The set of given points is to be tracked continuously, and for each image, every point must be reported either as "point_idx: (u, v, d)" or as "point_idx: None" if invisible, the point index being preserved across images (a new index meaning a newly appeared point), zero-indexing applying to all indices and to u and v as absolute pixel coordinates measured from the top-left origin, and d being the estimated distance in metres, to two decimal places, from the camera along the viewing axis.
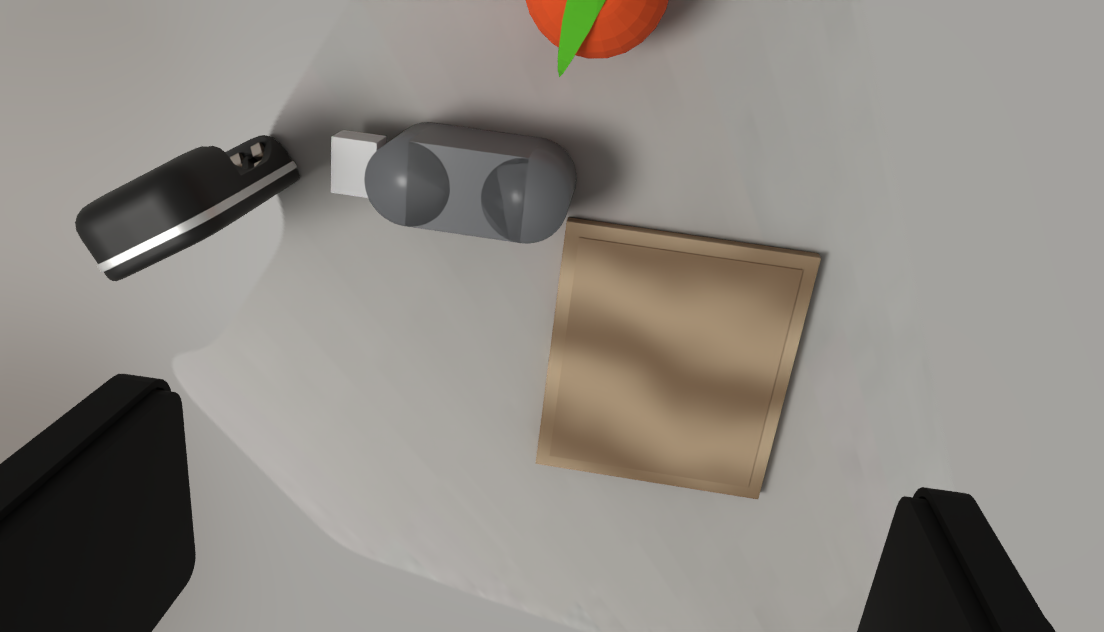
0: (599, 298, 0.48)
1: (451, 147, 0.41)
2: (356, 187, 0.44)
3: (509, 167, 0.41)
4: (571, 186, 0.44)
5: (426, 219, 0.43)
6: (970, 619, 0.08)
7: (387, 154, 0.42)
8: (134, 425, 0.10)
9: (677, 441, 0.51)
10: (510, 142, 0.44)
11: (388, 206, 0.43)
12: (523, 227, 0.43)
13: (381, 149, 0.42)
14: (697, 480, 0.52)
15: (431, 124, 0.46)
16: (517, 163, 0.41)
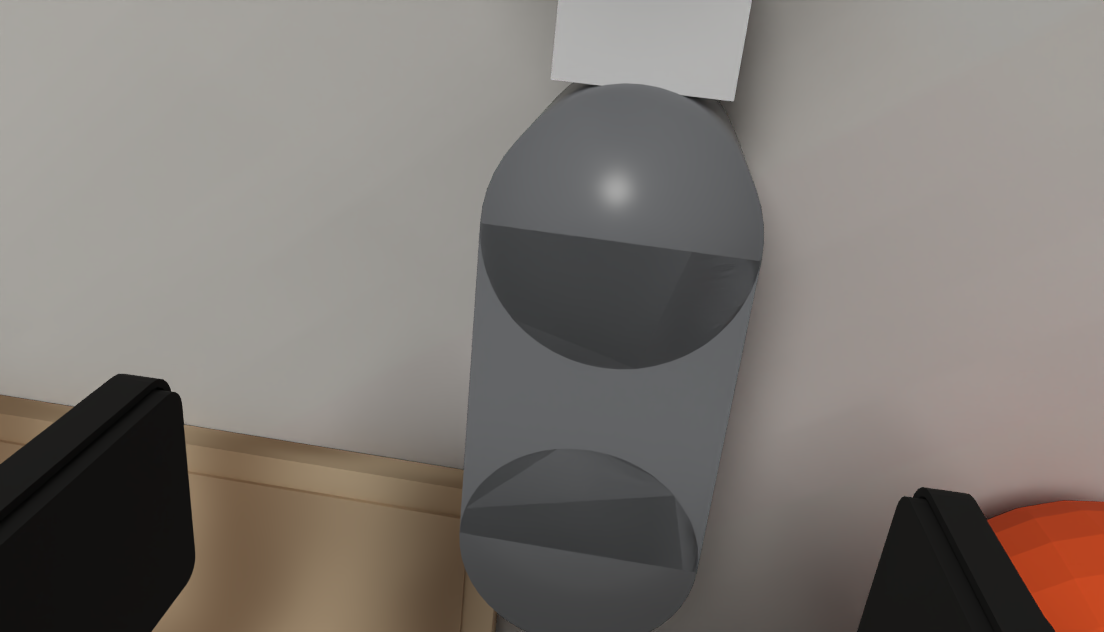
0: (332, 550, 0.21)
1: (734, 382, 0.14)
2: (585, 15, 0.13)
3: (671, 526, 0.15)
4: None
5: (507, 292, 0.14)
6: (970, 619, 0.08)
7: (720, 187, 0.13)
8: (134, 425, 0.10)
9: None
10: None
11: (542, 174, 0.13)
12: (503, 544, 0.16)
13: (738, 168, 0.12)
14: None
15: None
16: (681, 544, 0.15)
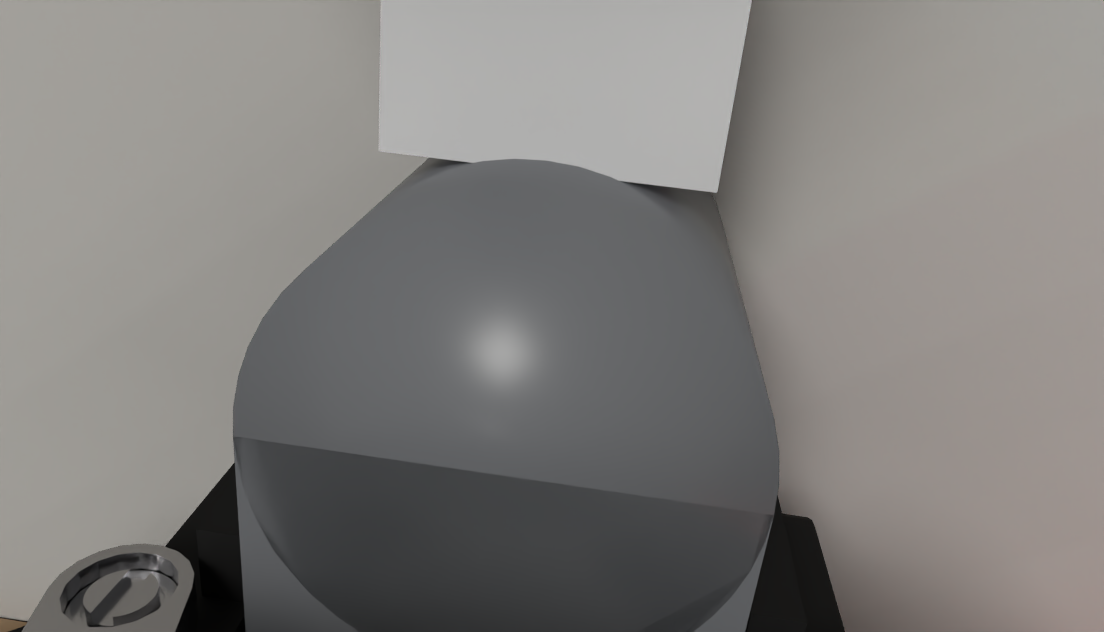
0: None
1: None
2: (434, 34, 0.07)
3: None
4: None
5: (298, 552, 0.07)
6: None
7: (692, 382, 0.06)
8: None
9: None
10: None
11: (342, 352, 0.06)
12: None
13: (728, 348, 0.06)
14: None
15: None
16: None
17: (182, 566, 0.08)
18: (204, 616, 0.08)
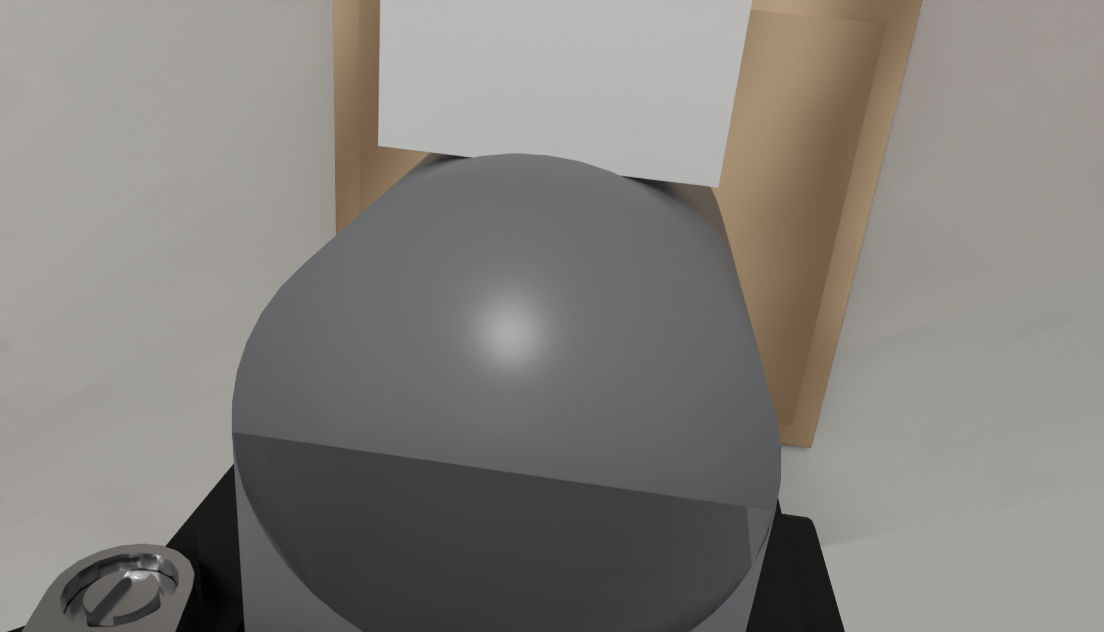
0: (745, 72, 0.23)
1: None
2: (435, 29, 0.07)
3: None
4: None
5: (297, 549, 0.07)
6: None
7: (694, 377, 0.06)
8: None
9: None
10: None
11: (341, 347, 0.06)
12: None
13: (730, 343, 0.06)
14: None
15: None
16: None
17: (182, 566, 0.08)
18: (204, 616, 0.08)
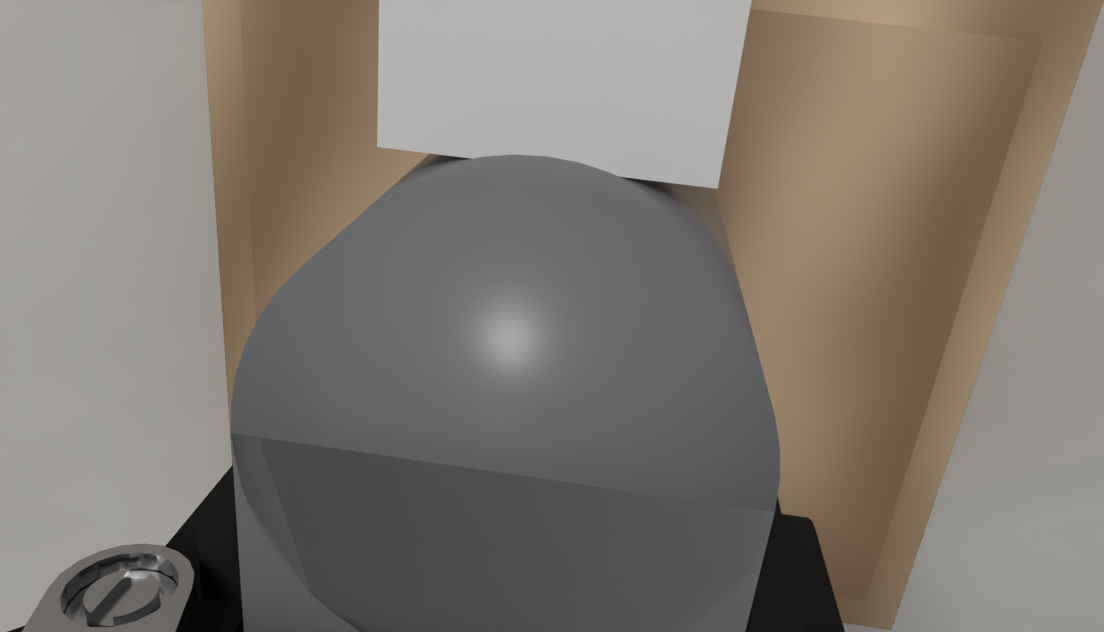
0: (820, 112, 0.15)
1: None
2: (433, 30, 0.07)
3: None
4: None
5: (296, 550, 0.07)
6: None
7: (693, 378, 0.06)
8: None
9: None
10: None
11: (340, 349, 0.06)
12: None
13: (729, 344, 0.06)
14: None
15: None
16: None
17: (182, 566, 0.08)
18: (204, 616, 0.08)
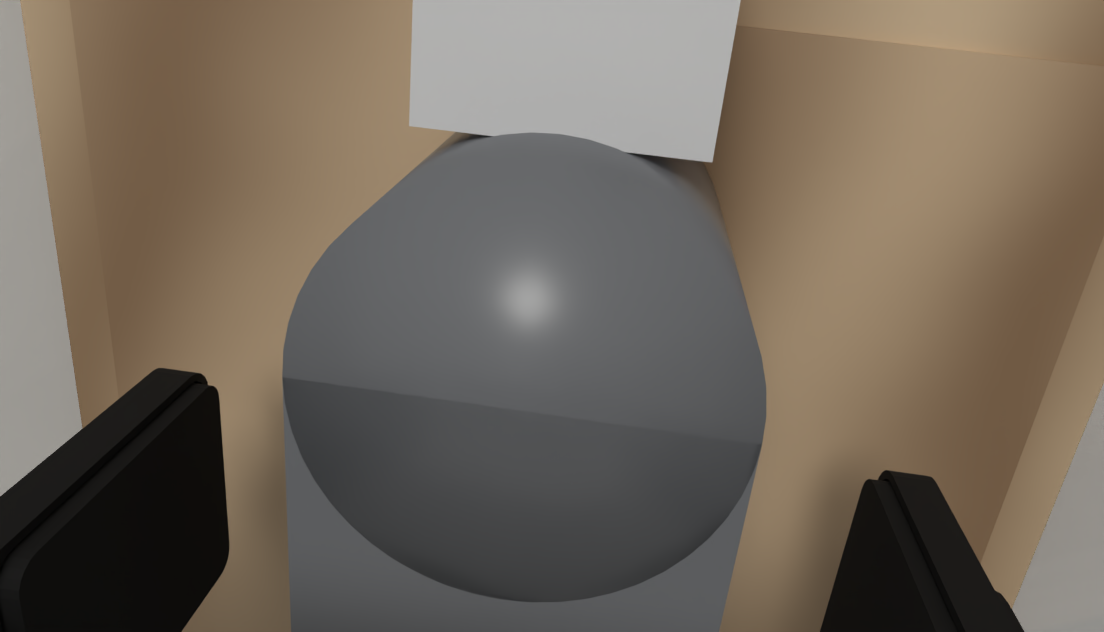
0: (855, 167, 0.11)
1: (717, 624, 0.08)
2: (460, 20, 0.08)
3: None
4: None
5: (338, 484, 0.08)
6: (924, 594, 0.08)
7: (690, 324, 0.07)
8: (176, 418, 0.10)
9: (260, 454, 0.14)
10: None
11: (381, 300, 0.07)
12: None
13: (721, 293, 0.07)
14: None
15: None
16: None
17: None
18: None
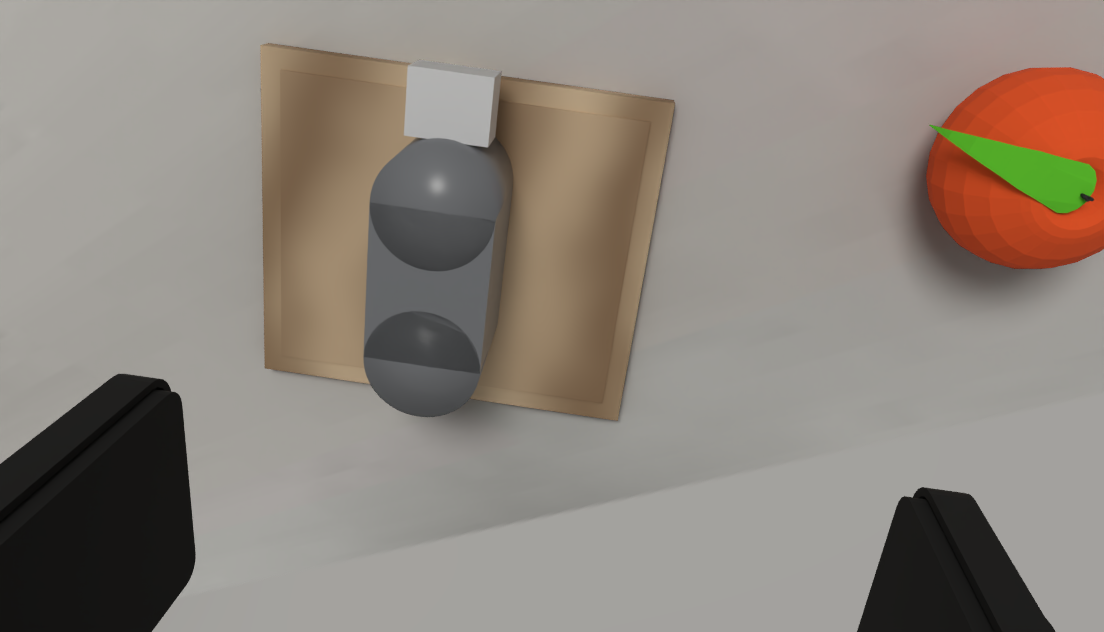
0: (556, 151, 0.33)
1: (489, 277, 0.30)
2: (418, 107, 0.29)
3: (466, 350, 0.31)
4: None
5: (383, 234, 0.29)
6: (970, 619, 0.08)
7: (475, 187, 0.29)
8: (134, 425, 0.10)
9: (337, 263, 0.35)
10: (494, 310, 0.33)
11: (397, 180, 0.29)
12: (385, 362, 0.31)
13: (481, 179, 0.28)
14: (278, 290, 0.36)
15: (511, 187, 0.33)
16: (471, 359, 0.31)
17: None
18: None
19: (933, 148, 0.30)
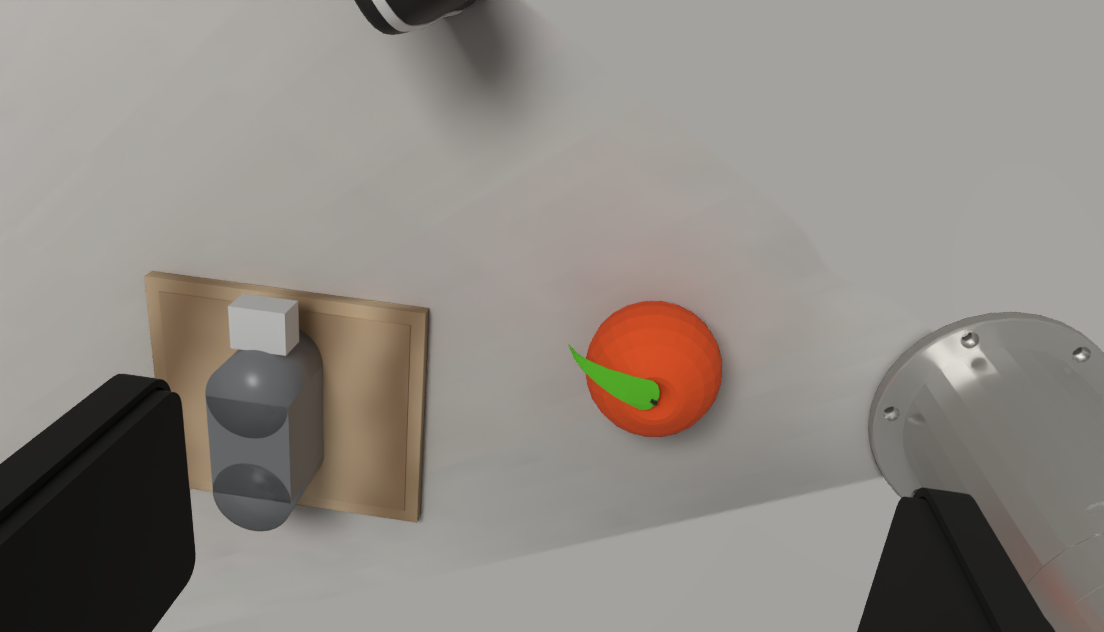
0: (349, 344, 0.47)
1: (289, 442, 0.44)
2: (237, 331, 0.44)
3: (279, 488, 0.45)
4: None
5: (216, 415, 0.44)
6: (970, 619, 0.08)
7: (271, 387, 0.43)
8: (134, 425, 0.10)
9: None
10: (310, 453, 0.48)
11: (221, 382, 0.43)
12: (227, 495, 0.46)
13: (275, 382, 0.43)
14: None
15: (319, 368, 0.47)
16: (284, 494, 0.45)
17: None
18: None
19: None
